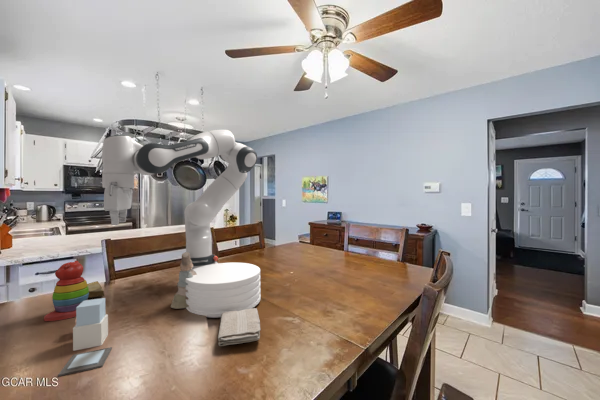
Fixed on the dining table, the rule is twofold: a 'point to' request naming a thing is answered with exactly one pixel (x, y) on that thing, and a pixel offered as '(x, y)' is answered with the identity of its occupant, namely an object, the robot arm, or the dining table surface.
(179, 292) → the figurine
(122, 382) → the dining table surface
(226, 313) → the washcloth
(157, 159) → the robot arm
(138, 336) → the dining table surface
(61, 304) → the stacking bear
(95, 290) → the rock
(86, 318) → the pale blue block
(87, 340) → the cream block
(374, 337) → the dining table surface
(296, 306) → the dining table surface
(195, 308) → the plate stack
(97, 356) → the tile
